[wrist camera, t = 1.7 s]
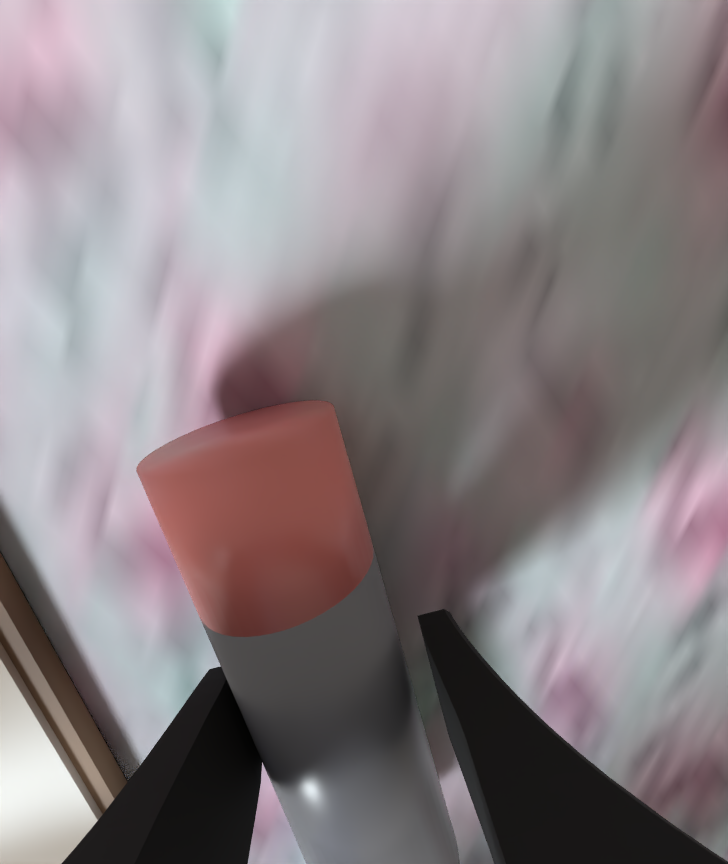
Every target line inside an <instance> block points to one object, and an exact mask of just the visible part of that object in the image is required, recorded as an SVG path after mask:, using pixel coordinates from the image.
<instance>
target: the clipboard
mask: <svg viewBox="0 0 728 864" xmlns="http://www.w3.org/2000/svg"><path fill="white" fill-rule="evenodd" d="M126 784H127V780H126V779H125V777H124V775H123V773H122V771H121V770H120V768H119V766H118V764H117V762H116V761H115V759H114V757H113V755H112V753H111V752H110V750H109V748H108V746H107V744H106V742H105V741H104V739H103V737H102V735H101V733H100V732H99V730H98V728H97V726H96V724H95V723H94V721H93V719H92V717H91V715H90V714H89V712H88V710H87V708H86V706H85V705H84V703H83V701H82V699H81V697H80V696H79V694H78V692H77V690H76V688H75V687H74V685H73V683H72V681H71V679H70V678H69V676H68V674H67V672H66V670H65V669H64V667H63V665H62V663H61V661H60V660H59V658H58V656H57V654H56V652H55V650H54V649H53V647H52V645H51V643H50V641H49V640H48V638H47V636H46V634H45V632H44V631H43V629H42V627H41V625H40V623H39V622H38V620H37V618H36V616H35V614H34V613H33V611H32V609H31V607H30V605H29V604H28V602H27V600H26V598H25V596H24V595H23V593H22V591H21V589H20V587H19V586H18V584H17V582H16V580H15V578H14V577H13V575H12V573H11V571H10V569H9V568H8V566H7V564H6V562H5V560H4V558H3V557H2V555H1V553H0V864H62V862H63V861H64V860H65V859H66V858H67V857H68V856H69V854H70V853H71V852H72V851H73V850H74V849H75V847H76V846H77V845H78V844H79V843H80V841H81V840H82V839H83V838H84V837H85V835H86V834H87V833H88V832H89V831H90V829H91V828H92V827H93V826H94V825H95V823H96V822H97V821H98V820H99V818H100V817H101V816H102V815H103V813H104V812H105V811H106V809H107V808H108V807H109V806H110V804H111V803H112V802H113V800H114V799H115V798H116V796H117V795H118V794H119V793H120V791H121V790H122V789H123V787H124V786H125V785H126Z"/></svg>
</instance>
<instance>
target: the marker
mask: <svg viewBox="0 0 728 864" xmlns="http://www.w3.org/2000/svg"><path fill="white" fill-rule="evenodd" d="M137 473H138V476H139V478H140V480H141V482H142V485H143V487H144V489H145V492H146V494H147V496H148V499H149V501H150V503H151V506H152V508H153V510H154V513H155V515H156V517H157V519H158V522H159V524H160V526H161V529H162V531H163V533H164V536H165V538H166V540H167V543H168V545H169V547H170V549H171V552H172V554H173V556H174V559H175V561H176V563H177V566H178V568H179V570H180V573H181V575H182V577H183V580H184V582H185V584H186V586H187V589H188V591H189V593H190V596H191V598H192V600H193V603H194V605H195V607H196V610H197V612H198V614H199V616H200V619H201V621H202V623H203V626H204V628H205V630H206V633H207V635H208V637H209V640H210V642H211V644H212V647H213V649H214V651H215V653H216V656H217V658H218V660H219V663H220V665H221V667H222V670H223V672H224V674H225V677H226V679H227V681H228V683H229V686H230V688H231V690H232V693H233V695H234V697H235V700H236V702H237V704H238V707H239V709H240V711H241V714H242V716H243V718H244V720H245V723H246V725H247V727H248V730H249V732H250V734H251V737H252V739H253V741H254V744H255V746H256V748H257V750H258V753H259V755H260V757H261V760H262V762H263V764H264V767H265V769H266V771H267V774H268V776H269V778H270V781H271V783H272V785H273V787H274V790H275V792H276V794H277V797H278V799H279V801H280V804H281V806H282V808H283V811H284V813H285V815H286V817H287V820H288V822H289V824H290V827H291V829H292V831H293V834H294V836H295V838H296V841H297V843H298V845H299V848H300V850H301V852H302V854H303V857H304V859H305V861H306V864H459V854H458V847H457V843H456V839H455V835H454V831H453V828H452V824H451V821H450V817H449V814H448V810H447V807H446V803H445V799H444V796H443V792H442V789H441V785H440V782H439V778H438V775H437V771H436V768H435V764H434V760H433V757H432V753H431V750H430V746H429V743H428V739H427V736H426V732H425V728H424V725H423V721H422V718H421V714H420V711H419V707H418V704H417V700H416V697H415V693H414V689H413V686H412V682H411V679H410V675H409V672H408V668H407V665H406V661H405V657H404V654H403V650H402V647H401V643H400V640H399V636H398V633H397V629H396V626H395V622H394V618H393V615H392V611H391V608H390V604H389V601H388V597H387V594H386V590H385V586H384V583H383V579H382V576H381V572H380V569H379V565H378V562H377V558H376V555H375V551H374V547H373V544H372V540H371V537H370V533H369V530H368V526H367V523H366V519H365V515H364V512H363V508H362V505H361V501H360V498H359V494H358V491H357V487H356V484H355V480H354V476H353V473H352V469H351V466H350V462H349V459H348V455H347V452H346V448H345V445H344V441H343V437H342V434H341V430H340V427H339V423H338V420H337V416H336V413H335V409H334V406H333V405H332V404H331V403H329V402H326V401H320V400H309V401H297V402H291V403H285V404H279V405H274V406H270V407H266V408H261V409H257V410H254V411H250V412H246V413H243V414H240V415H236V416H233V417H230V418H227V419H224V420H221V421H218V422H215V423H213V424H210V425H207V426H205V427H202V428H200V429H197V430H195V431H192V432H190V433H188V434H186V435H183V436H181V437H179V438H177V439H175V440H173V441H171V442H169V443H167V444H165V445H163V446H162V447H160V448H158V449H157V450H155V451H153V452H152V453H150V454H149V455H148V456H146V457H145V458H144V459H143V460H142V461H141V462H140V463H139V464H138V466H137Z"/></svg>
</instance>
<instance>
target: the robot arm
mask: <svg viewBox="0 0 728 864" xmlns="http://www.w3.org/2000/svg"><path fill="white" fill-rule="evenodd" d="M418 619H419V623H420V627H421V631H422V634H423V638H424V642H425V646H426V650H427V654H428V658H429V662H430V666H431V669H432V673H433V677H434V681H435V685H436V689H437V693H438V696H439V700H440V704H441V708H442V711H443V715H444V719H445V723H446V726H447V730H448V734H449V737H450V740H451V743H452V746H453V748H454V751H455V754H456V757H457V760H458V762H459V765H460V768H461V771H462V774H463V776H464V779H465V782H466V785H467V788H468V790H469V793H470V796H471V799H472V802H473V804H474V807H475V810H476V813H477V816H478V818H479V821H480V824H481V827H482V829H483V832H484V835H485V838H486V841H487V843H488V846H489V849H490V852H491V855H492V858H493V861H494V864H728V862H727V861H726V860H724V859H723V858H721V857H719V856H718V855H717V854H715V853H714V852H712V851H711V850H709V849H708V848H706V847H705V846H703V845H702V844H700V843H699V842H698V841H696V840H695V839H693V838H692V837H690V836H689V835H687V834H686V833H684V832H683V831H681V830H680V829H679V828H677V827H676V826H674V825H673V824H671V823H670V822H669V821H667V820H666V819H665V818H663V817H662V816H660V815H659V814H658V813H656V812H655V811H654V810H652V809H651V808H650V807H648V806H647V805H646V804H644V803H643V802H642V801H640V800H639V799H638V798H636V797H635V796H634V795H632V794H631V793H630V792H628V791H627V790H626V789H624V788H623V787H622V786H620V785H619V784H617V783H616V782H615V781H613V780H612V779H611V778H610V777H608V776H607V775H606V774H605V773H603V772H602V771H601V770H600V769H598V768H597V767H596V766H595V765H594V764H592V763H591V762H590V761H589V760H587V759H586V758H585V757H584V756H583V755H581V754H580V753H579V752H578V751H577V750H575V749H574V748H573V747H572V746H571V745H570V744H569V743H567V742H566V741H565V740H564V739H563V738H562V737H561V736H559V735H558V734H557V733H556V732H555V731H554V730H553V729H552V728H551V727H549V726H548V725H547V724H546V723H545V722H544V721H543V720H542V719H541V718H540V717H539V716H538V715H537V714H536V713H534V712H533V711H532V710H531V709H530V708H529V707H528V706H527V705H526V704H525V703H524V702H523V701H522V700H521V699H520V698H519V697H518V696H517V695H516V694H515V693H514V692H513V690H512V689H511V688H510V687H509V686H508V685H507V684H506V683H505V682H504V681H503V680H502V679H501V678H500V677H499V675H498V674H497V673H496V672H495V671H494V670H493V669H492V668H491V666H490V665H489V664H488V663H487V662H486V661H485V660H484V659H483V657H482V656H481V655H480V654H479V653H478V651H477V650H476V649H475V648H474V646H473V645H472V644H471V643H470V641H469V640H468V639H467V637H466V636H465V635H464V633H463V632H462V631H461V629H460V628H459V626H458V625H457V623H456V622H455V620H454V619H453V617H452V615H451V613H450V612H448V611H447V610H445V609H442V610H439V611H435V612H431V613H427V614H423V615H419V616H418ZM261 770H262V760H261V757H260V755H259V753H258V750H257V748H256V746H255V744H254V741H253V739H252V737H251V734H250V732H249V730H248V727H247V725H246V723H245V720H244V718H243V716H242V714H241V711H240V709H239V707H238V704H237V702H236V700H235V697H234V695H233V693H232V690H231V688H230V686H229V683H228V681H227V679H226V677H225V674H224V672H223V670H222V667H217V668H213V669H209V671H208V672H207V673H206V675H205V676H204V677H203V679H202V680H201V681H200V683H199V684H198V686H197V687H196V688H195V690H194V691H193V693H192V694H191V696H190V697H189V698H188V700H187V701H186V703H185V704H184V706H183V707H182V708H181V710H180V711H179V713H178V714H177V715H176V717H175V718H174V720H173V721H172V723H171V724H170V725H169V727H168V728H167V730H166V731H165V732H164V734H163V735H162V736H161V738H160V739H159V741H158V742H157V743H156V745H155V746H154V748H153V749H152V750H151V752H150V753H149V755H148V756H147V757H146V759H145V760H144V761H143V763H142V764H141V765H140V767H139V768H138V769H137V771H136V772H135V773H134V774H133V776H132V777H131V778H130V780H129V781H128V782H127V784H126V785H125V786H124V787H123V789H122V790H121V791H120V793H119V794H118V795H117V796H116V798H115V799H114V800H113V802H112V803H111V804H110V806H109V807H108V808H107V809H106V811H105V812H104V813H103V815H102V816H101V817H100V818H99V820H98V821H97V822H96V823H95V825H94V826H93V827H92V828H91V829H90V831H89V832H88V833H87V834H86V835H85V837H84V838H83V839H82V840H81V841H80V843H79V844H78V845H77V846H76V847H75V849H74V850H73V851H72V852H71V853H70V854H69V856H68V857H67V858H66V859H65V860H64V861H63V862H62V864H247V863H248V857H249V851H250V845H251V839H252V833H253V827H254V821H255V815H256V809H257V803H258V797H259V790H260V784H261Z"/></svg>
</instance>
